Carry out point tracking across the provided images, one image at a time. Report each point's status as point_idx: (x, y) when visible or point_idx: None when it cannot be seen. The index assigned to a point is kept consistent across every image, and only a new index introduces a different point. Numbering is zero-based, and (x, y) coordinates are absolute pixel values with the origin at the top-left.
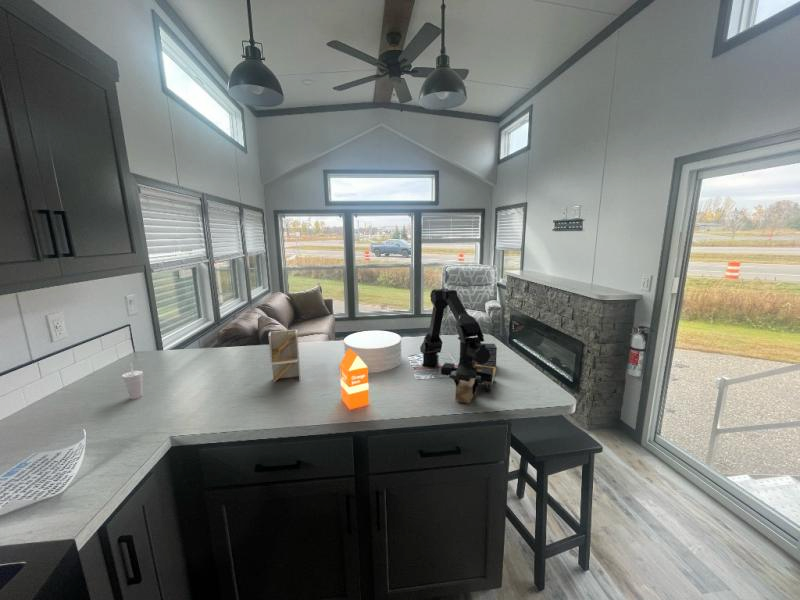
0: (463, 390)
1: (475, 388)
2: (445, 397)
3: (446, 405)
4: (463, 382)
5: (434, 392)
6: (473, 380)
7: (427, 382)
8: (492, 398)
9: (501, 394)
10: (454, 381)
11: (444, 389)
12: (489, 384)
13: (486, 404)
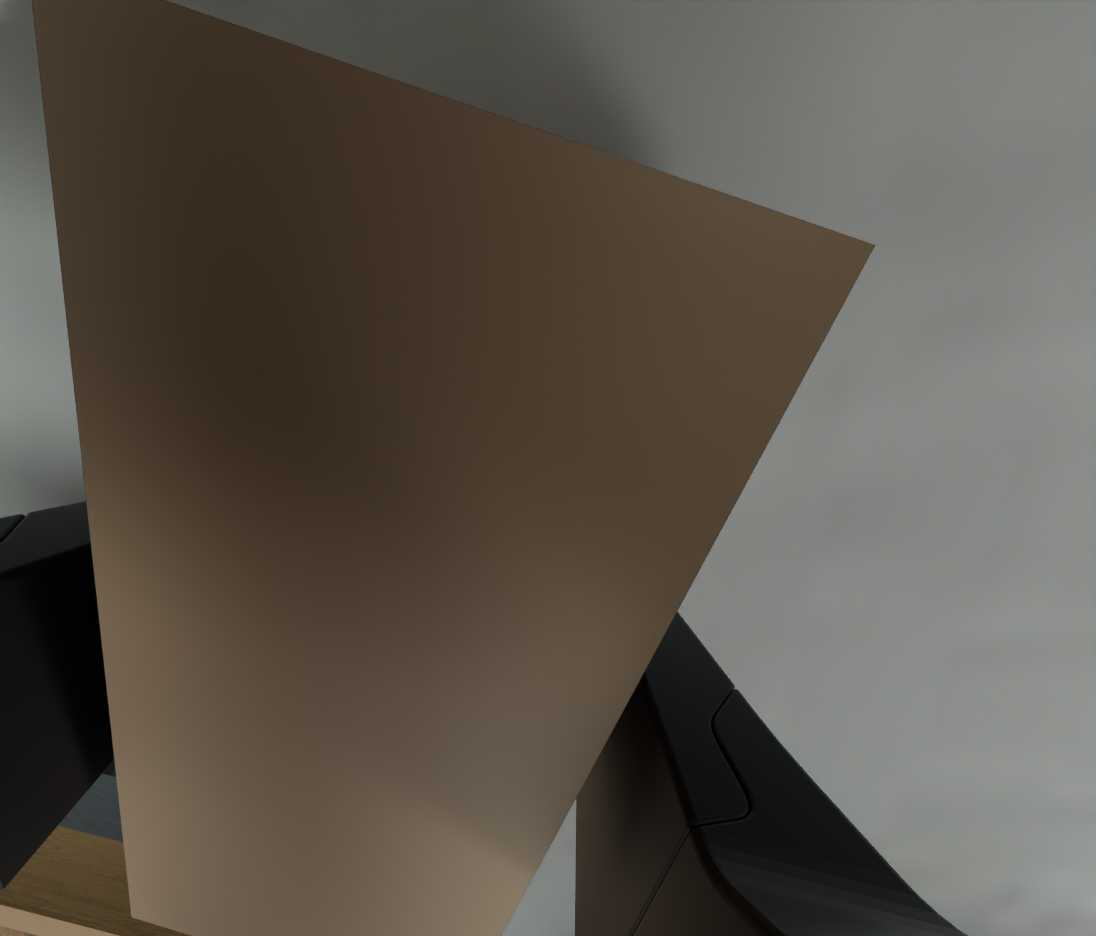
0: (403, 92)
1: (78, 509)
2: (890, 452)
3: (960, 51)
4: (454, 773)
5: (1078, 615)
6: (184, 861)
7: (1092, 879)
8: (74, 499)
9: None
10: (839, 813)
11: (844, 709)
12: None
13: None
